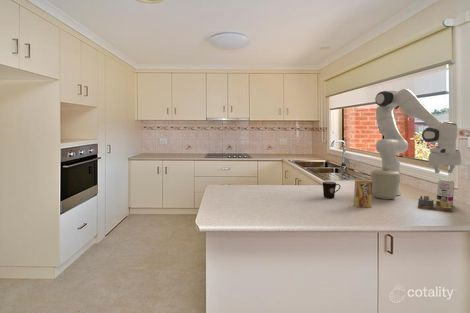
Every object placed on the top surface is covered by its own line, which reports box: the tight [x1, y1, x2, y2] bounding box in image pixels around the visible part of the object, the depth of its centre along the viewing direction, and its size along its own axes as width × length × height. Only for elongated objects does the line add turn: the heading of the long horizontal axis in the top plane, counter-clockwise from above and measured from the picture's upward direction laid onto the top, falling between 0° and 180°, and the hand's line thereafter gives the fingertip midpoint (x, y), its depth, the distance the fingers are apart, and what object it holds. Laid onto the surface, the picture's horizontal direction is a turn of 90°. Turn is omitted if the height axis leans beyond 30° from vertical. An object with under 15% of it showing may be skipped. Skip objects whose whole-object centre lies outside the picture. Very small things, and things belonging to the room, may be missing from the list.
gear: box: [418, 195, 435, 206], centre depth 176 cm, size 7×7×5 cm
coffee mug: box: [322, 180, 341, 200], centre depth 198 cm, size 12×9×10 cm
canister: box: [370, 166, 402, 200], centre depth 199 cm, size 18×18×21 cm
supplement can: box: [436, 178, 455, 206], centre depth 183 cm, size 8×8×15 cm
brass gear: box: [435, 199, 452, 208], centre depth 172 cm, size 7×7×3 cm
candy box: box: [353, 179, 373, 208], centre depth 176 cm, size 9×4×15 cm, turn 86°
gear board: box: [417, 195, 453, 213], centre depth 174 cm, size 16×10×6 cm, turn 60°
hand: (443, 172), depth 178 cm, fingers open, 8 cm apart
